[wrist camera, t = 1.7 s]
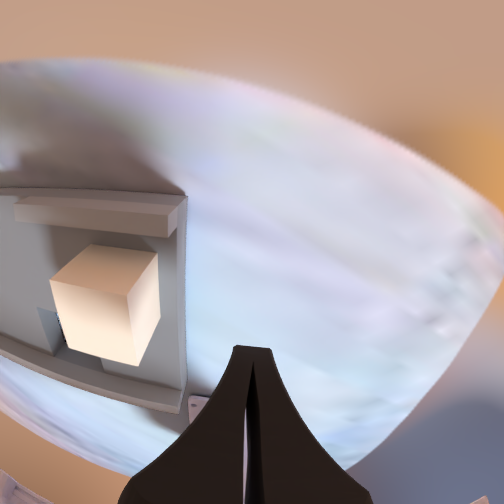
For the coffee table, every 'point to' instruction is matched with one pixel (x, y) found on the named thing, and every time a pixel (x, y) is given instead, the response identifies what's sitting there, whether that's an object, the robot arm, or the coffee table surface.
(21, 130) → the coffee table surface
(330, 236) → the coffee table surface
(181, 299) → the board
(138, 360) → the block
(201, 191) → the coffee table surface
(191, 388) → the coffee table surface
